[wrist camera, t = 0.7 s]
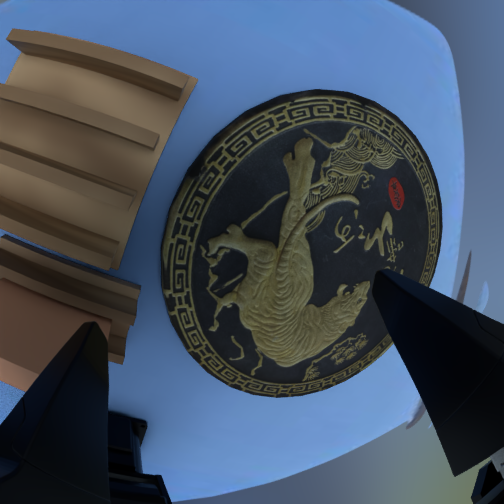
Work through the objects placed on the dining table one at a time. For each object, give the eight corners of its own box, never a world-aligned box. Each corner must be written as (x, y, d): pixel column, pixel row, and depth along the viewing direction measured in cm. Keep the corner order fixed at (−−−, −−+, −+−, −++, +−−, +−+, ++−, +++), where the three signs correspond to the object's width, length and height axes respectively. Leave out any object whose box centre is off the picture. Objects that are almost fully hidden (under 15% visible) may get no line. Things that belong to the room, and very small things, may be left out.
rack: (119, 265, 19) (111, 292, 15) (-27, 206, 14) (-58, 218, 10) (196, 83, 17) (207, 62, 13) (38, 34, 11) (17, 12, 7)
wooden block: (109, 327, 19) (96, 415, 11) (10, 289, 16) (-43, 356, 8) (114, 308, 19) (99, 394, 11) (11, 269, 16) (-48, 330, 7)
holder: (122, 347, 21) (120, 372, 18) (-2, 301, 16) (-17, 319, 13) (140, 285, 20) (139, 306, 17) (5, 234, 15) (-15, 246, 12)
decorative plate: (411, 66, 20) (446, 304, 32) (398, 69, 22) (437, 298, 34) (83, 184, 16) (254, 436, 28) (89, 182, 17) (249, 424, 29)
